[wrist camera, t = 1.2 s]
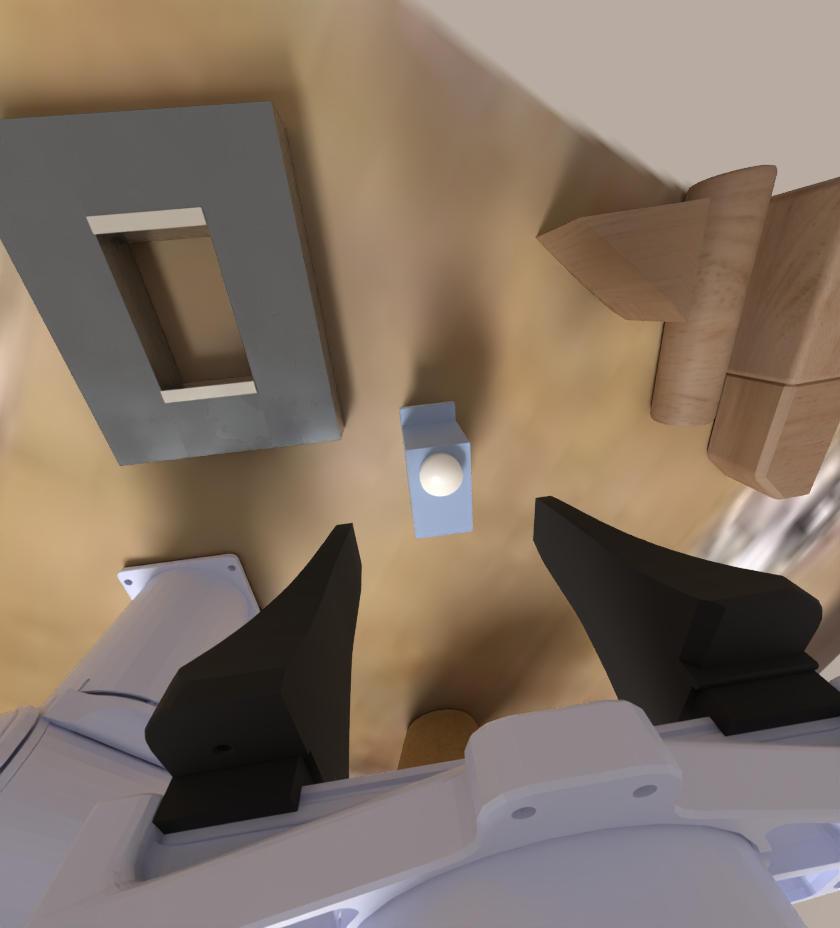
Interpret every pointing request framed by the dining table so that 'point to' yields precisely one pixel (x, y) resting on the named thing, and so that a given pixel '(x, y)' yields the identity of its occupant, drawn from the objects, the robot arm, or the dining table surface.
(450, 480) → the block
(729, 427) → the wooden block set
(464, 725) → the plant pot
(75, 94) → the dining table surface
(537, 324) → the dining table surface
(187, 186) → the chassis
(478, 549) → the dining table surface
